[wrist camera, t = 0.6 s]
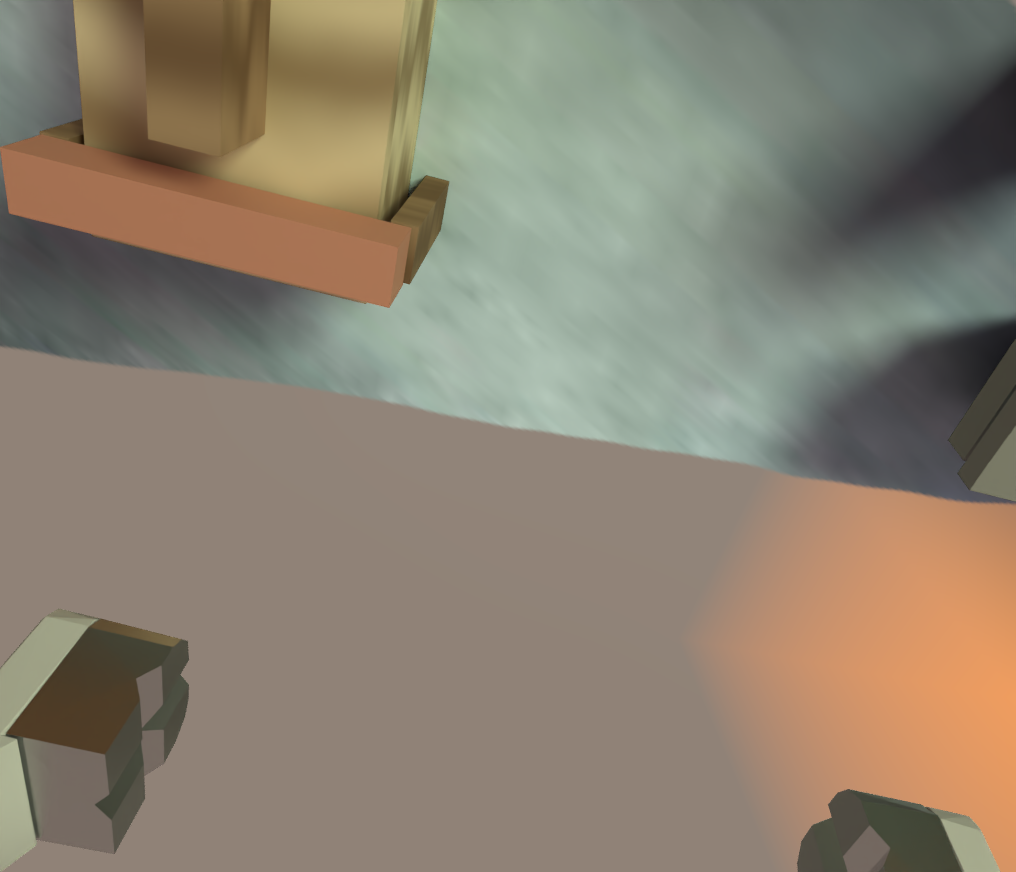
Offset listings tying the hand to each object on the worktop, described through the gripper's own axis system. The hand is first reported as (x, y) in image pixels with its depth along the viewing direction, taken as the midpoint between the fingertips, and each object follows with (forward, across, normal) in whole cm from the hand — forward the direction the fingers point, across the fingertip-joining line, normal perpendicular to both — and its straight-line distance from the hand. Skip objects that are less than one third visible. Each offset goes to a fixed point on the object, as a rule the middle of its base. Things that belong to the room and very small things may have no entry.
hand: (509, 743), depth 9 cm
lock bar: (+30, +16, +5) cm, 34 cm away
